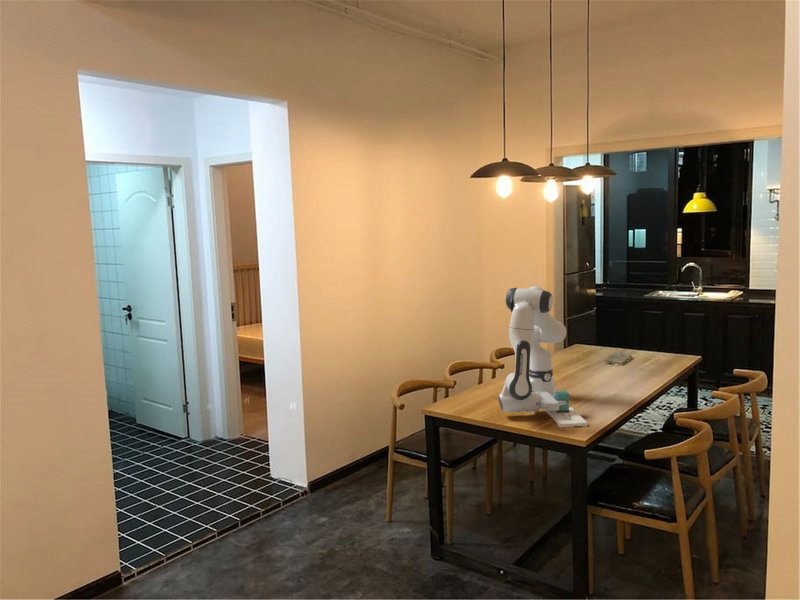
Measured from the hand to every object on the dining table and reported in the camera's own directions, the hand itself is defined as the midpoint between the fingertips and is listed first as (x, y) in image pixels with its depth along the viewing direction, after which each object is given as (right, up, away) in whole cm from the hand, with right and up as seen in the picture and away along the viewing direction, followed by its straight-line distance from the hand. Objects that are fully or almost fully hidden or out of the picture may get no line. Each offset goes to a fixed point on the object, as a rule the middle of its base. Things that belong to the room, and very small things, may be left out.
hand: (563, 400), depth 294 cm
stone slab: (+63, +7, +111) cm, 128 cm away
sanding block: (-1, -5, 0) cm, 5 cm away
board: (0, -7, -6) cm, 10 cm away
